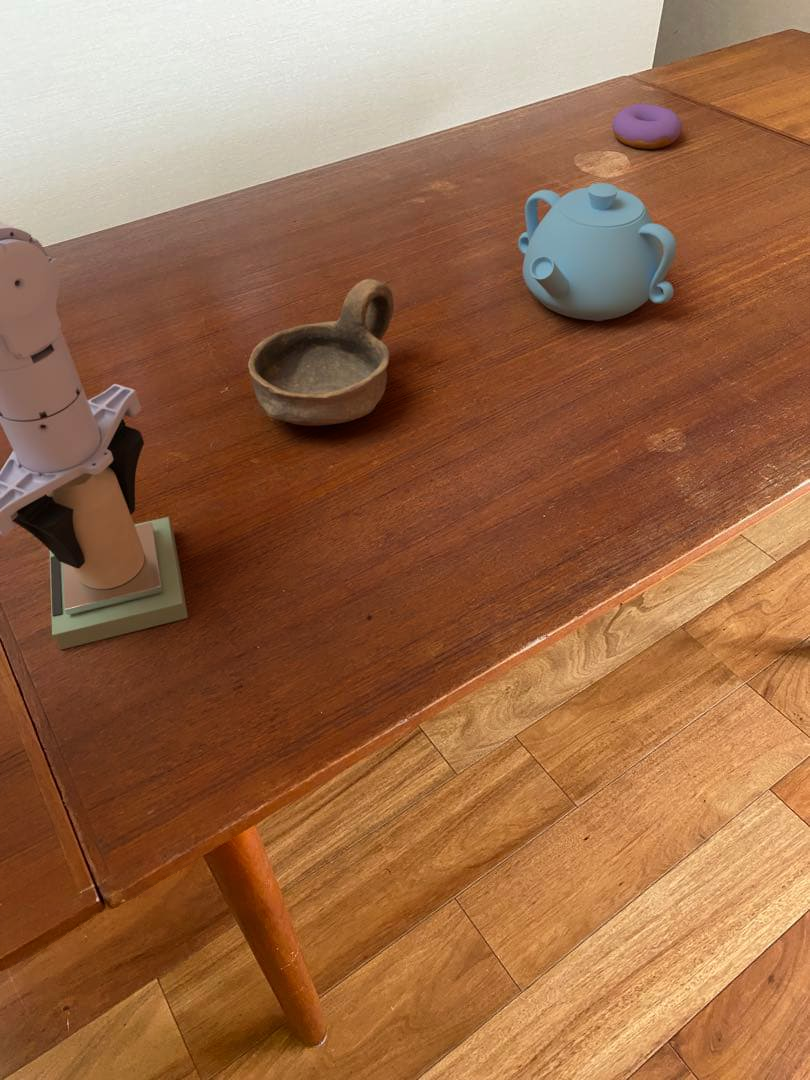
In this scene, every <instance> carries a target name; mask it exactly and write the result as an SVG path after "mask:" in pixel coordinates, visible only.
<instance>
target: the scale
mask: <svg viewBox="0 0 810 1080" xmlns="http://www.w3.org/2000/svg"><path fill="white" fill-rule="evenodd" d="M147 523H152V524H153V527H154V532H155V539H156V546H157V553H158V559H159V566H160V573H161V580H162V587H163V592H161V593H156V594H152V595H148V596H144V597H140V598H136V599H132V600H128V601H124V602H120V603H115V604H111V605H107V606H103V607H99V608H95V609H91V610H87V611H83V612H79V613H75V614H70V615H67V613H66V612H65V606H64V584H63V563H62V562H60V561H59V560H58V559H57V558H56V557H55V556H54V554H53V553H52V552H51V551H50V550H49V549H48V550H49V578H50V583H49V584H50V609H51V610H50V612H51V636H52V637H53V640H54V641H55V643H56V645H57V647H58V649H59V650H60V651H61V650H65V649H69V648H74V647H79V646H81V645H86V644H89V643H94V642H97V641H101V640H106V639H109V638H113V637H116V636H123V635H124V634H129V633H133V632H137V631H143V630H147V629H149V628H153V627H157V626H161V625H166V624H169V623H174V622H177V621H182V620H185V619H188V618H189V615H188V609H187V608H188V607H187V603H186V597H185V591H184V586H183V580H182V573H181V567H180V560H179V555H178V550H177V549H178V548H177V544H176V537H175V532H174V529H173V526H172V523H171V520H170V517H169V516H166V517H162V518H157V519H152V520H148V521H144V522H143V521H142V522H139V523H134V526H138V525H143V524H147Z"/></svg>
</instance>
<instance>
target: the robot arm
mask: <svg viewBox="0 0 810 1080" xmlns="http://www.w3.org/2000/svg"><path fill="white" fill-rule="evenodd" d="M60 289H61V269H60V264H59V260H58V259H57V258H56V257H55V258H54V257H53V258H52V257H51V256H49V255H48V253H47V251H46V249H45V248H44V246H43V244H42V243H41V242H40V241H39V240H38V239H37V238H35V237H32V234H30V233H28V232H27V231H25V230H22V229H20V228H18V227H15V226H13V225H9V224H7V223H4V222H2V221H0V426H1V428H2V430H3V432H4V434H5V436H6V438H7V440H8V443H9V444H10V446H11V449H12V452H11V454H10V455H9V456H8V458H7V460H6V461H5V463H4V465H3V467H2V468H1V469H0V536H2V537H6V536H8V535H9V534H10V533H11V532H12V531H13V530H14V529H15V528H16V525H18V526H19V527H21V528H23V529H24V530H25V531H27V532H28V533H30V534H31V535H32V536H34V538H36V539H37V540H38V541H39V542H41V544H42V545H44V546H45V547H46V548H47V549H48V550H50V551H51V552H52V553H53V554H54V556H55V557H56V558H57V559H58V560H59V561H60V562H62V563H65V564H67V565H70V566H72V567H75V568H77V569H78V568H80V567H81V566H82V565H83V564H84V563H85V560H84V555H83V552H82V550H81V548H80V545H79V543H78V541H77V539H76V536H75V532H74V526H73V510H74V509H72V508H69V507H66V506H64V505H61V504H58V503H56V502H54V499H53V497H49V496H47V495H46V494H48V493H49V492H51V491H53V490H55V489H57V488H59V487H60V486H62V485H64V484H66V483H68V482H69V481H71V480H73V479H75V478H77V477H79V476H80V475H82V474H84V473H88V474H91V475H97V474H100V473H101V472H102V471H103V470H104V469H105V468H106V467H107V466H108V467H109V468H111V469H112V470H113V472H114V473H115V475H116V478H117V480H118V483H119V486H120V488H121V491H122V494H123V496H124V499H125V502H126V504H127V507H128V510H129V512H130V515H131V516H132V515H133V513H134V512H135V511H136V474H137V467H138V463H139V459H140V455H141V452H142V449H143V447H144V445H145V440H144V438H143V435H142V433H141V431H140V430H139V429H137V428H133V427H130V426H127V425H126V421H125V419H124V418H126V417H128V418H134V417H136V416H137V415H138V414H139V413H140V412H141V411H142V407H141V404H140V401H139V397H138V394H137V391H136V389H135V388H134V389H133V388H130V387H127V386H124V385H120V384H117V383H113V384H112V385H111V386H110V387H108V388H107V389H105V390H104V391H102V392H101V393H99V394H98V395H95V396H94V397H91V398H90V399H88V397H87V395H86V392H85V389H84V386H83V384H82V381H81V378H80V375H79V373H78V370H77V367H76V364H75V362H74V360H73V358H72V355H71V352H70V349H69V346H68V343H67V342H66V338H65V335H64V334H63V330H62V327H63V326H62V323H61V320H60V317H59V315H58V311H57V301H58V298H59V293H60ZM15 524H16V525H15ZM50 551H49V552H50Z"/></svg>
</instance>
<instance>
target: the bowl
mask: <svg viewBox="0 0 810 1080" xmlns="http://www.w3.org/2000/svg"><path fill="white" fill-rule="evenodd" d="M394 307H395V306H394V296H393V292H392V289H390V287H389V286H388V285H387V284H385V283H384V282H382V281H380V280H378V279H374V278H366V279H363V280H360V281H359V282H358V283H356V284H355V285H354V286H353V287H352V288H351V289H350V291H348V293H347V295H346V297H345V298H344V301H343V304H342V308H341V310H340V311H341V312H340V315H339V318H338V319H337V320H333V321H332V320H331V321H330V320H329V321H322V322H315V323H307V324H300V325H297V326H293V327H290V328H287V329H283V330H280V331H277V332H275V333H272V334H271V335H270V336H268V337H266V338H264V339H263V340H261V341H260V342H259V343H258V344H256V346H255V347H254V348H253V349H252V351H251V354H250V357H249V359H248V364H247V367H248V372H249V375H250V377H251V379H252V386H253V391H254V394H255V397H256V399H257V401H258V404H259V405H260V407H261V408H262V410H263V411H264V412H265V414H266V415H267V416H268V417H269V418H271V419H272V420H277V421H281V422H286V423H289V424H293V425H299V426H309V427H311V426H313V427H314V426H319V427H320V426H328V425H329V426H330V425H336V424H343V423H348V422H351V421H354V420H357V419H360V418H363V417H365V416H367V415H369V414H370V413H372V411H374V410H375V408H376V406H377V404H378V403H379V402H380V401H381V399H382V398H383V396H384V394H385V391H386V387H387V382H388V381H387V379H388V373H387V372H388V371H387V368H388V365H389V361H390V349H389V348H388V346H387V345H386V344H385V342H383V341H382V340H383V338H384V336H385V334H386V333H387V331H388V329H389V327H390V324H391V320H392V319H393V315H394V314H393V313H394ZM366 312H367V313H366Z"/></svg>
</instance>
